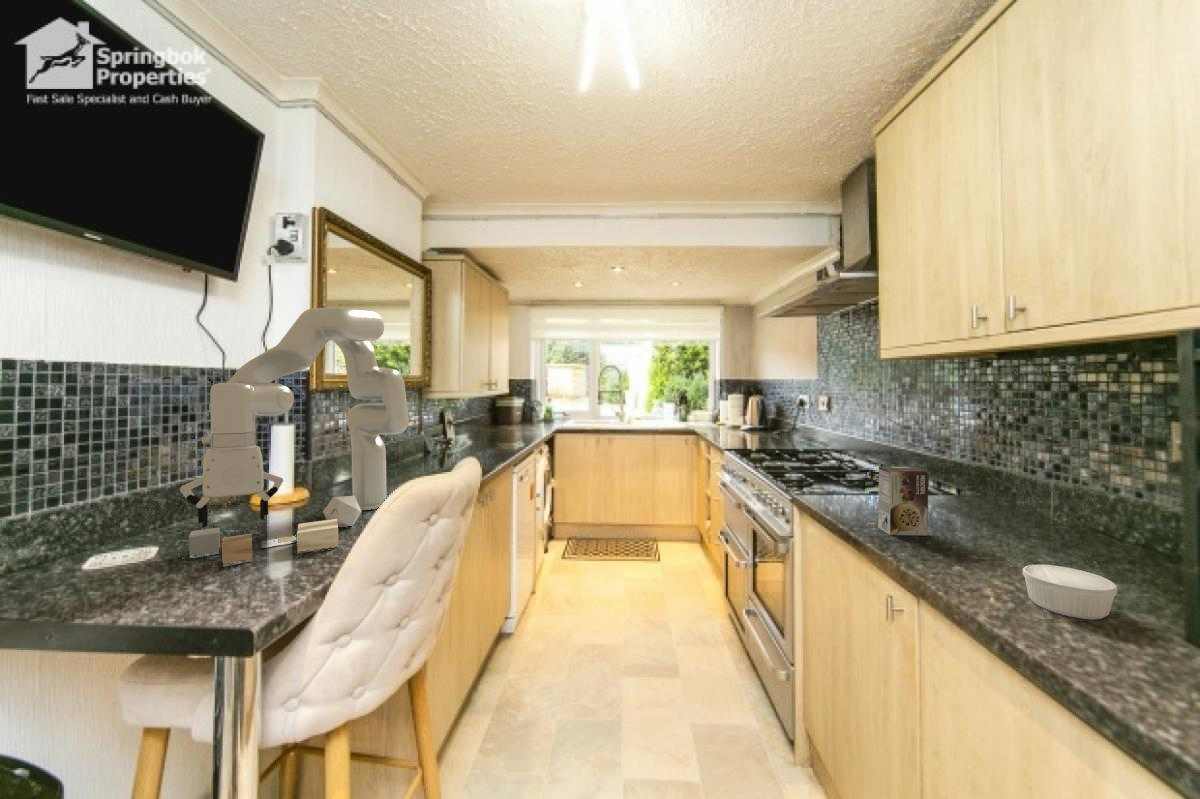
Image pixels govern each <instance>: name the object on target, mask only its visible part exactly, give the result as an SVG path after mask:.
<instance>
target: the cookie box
mask: <svg viewBox="0 0 1200 799" xmlns="http://www.w3.org/2000/svg"><path fill="white" fill-rule="evenodd" d="M877 521H878V523H877V526H878V529H880V530H881V531H883V532H884V533H886V534H887V535H889V536H929V471H928V470H925V469H924V468H922V467H921V468H920V467H917V466H878V520H877Z"/></svg>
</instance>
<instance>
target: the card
mask: <svg viewBox="0 0 1200 799" xmlns="http://www.w3.org/2000/svg"><path fill="white" fill-rule="evenodd" d="M294 535H295V536H296V535H297V534H294ZM291 536H292V537H287V536H285V537H286V538H283V537H284V536H282V538H281V537H279V538H280V539H278V543H281V542H288V541H294V540H296V537H295V536H293V535H291ZM273 541H274V540H273ZM274 542H275V541H274Z"/></svg>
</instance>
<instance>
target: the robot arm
mask: <svg viewBox="0 0 1200 799" xmlns="http://www.w3.org/2000/svg"><path fill="white" fill-rule="evenodd" d="M384 331H385V324H384V320H383V318H382V317H381V315H379V313H377V312H375V311H373V310H368V309H367V310H366V309H359V308H358V309H356V308H349V307H312V308H309V309H305V310H304V311H303V312H302V313H301V314H299V316H298V317H297V319H296V320H295V322H294V323H293V324H292V326H291V327H290V328H289V329H288V331H287V332H286V333H285V334H284V336H283V337H282V338H281V340H280V341H279V342H278V344H276V345H275V346H273V347H272V348H269V349H267V350H266V351H264V352H262V353H260V354H259V355H257V356H255V357H254V358H252V359H251V360H249V361H247V362H246V363H244V364H243V365H242V366H241V367H239V369H238V370H237V371H235V373H234V374H233V375H232V377H231V378H230V379H229V380H228V382H218V383H215V384H213V385H212V386H211V388H210V393H209V394H210V395H209V396H210V434H209V435H207V436H202V437H201V444H202V445H203V444H207V445H208V446H210V448H207V449H206V450H205V454H204V457H203V458H204V460H203V467H202V476H201V477H199V478H196V479H194V480H192V481H191V482H188V483H186V484H183V485H182V486H181V487H180V488H179V491H180V492H181V494H182V495H183V497H185V500H186V501H188V503H190V504H192V505H194V506H195V507H196V508H197V510H198V511H197V515H198V516H197V523H198V524H202V528H206V527H208V525H209V506H208V505H207V503H208V502H209V501H210V500H211V499H219V498H229V497H239V496H240V497H241V496H250V495H257V496H258V497H260V499H259V513H260V514H259V516H260V517H259V519H260V520H262V521H264V520H265V516H266V515H269V500H270V499H271V498H272V497H273V496H274V495H275V494H276V493H278V491H279V489H280V487H281V486H282V484H283V482H284V479H283V478H282V476H278V475H274V474H272V473H269V472H266V471H264V462H263V456H262V451H261V447H260V446H258V445H256V444H257V443H256V438H257V436H256V416H259V417H262V416H263V417H268V416H269V417H276V416H280V415H284V414H286V413H287V412H289V411H290V410H291V408H293V405H294V402H295V396H294V394H293V393H294V392H293V391H292V390H291V389H290V388H289V387H288V386H286V385H284V384H282V383H278V382H277V383H276V382H275V381H276V380H278V379H279V378H282V377H285V376H288V375H289V376H290V375H291V374H296V373H299V372H300V371H303V370H306V369H308V368H310V367H311V366H312V365H313V364H314V363H315V361H316V359H317V358H318V356H319V355H320V353H321V352H322V351H323V348H324V347H325V346H326V344H327V343H328V342H330V341H332V342H333V343H335V344H336V346H338V348H339V349H340V351H341V352H342V355H343V357H344V363H345V364H344V365H345V371H346V380H347V386H348V391H349V394H350V395H351V397H352V398H354V399H356V400H362V401H363V400H364V401H365V400H366V401H368V400H369V401H370V400H371V401H375V400H376V401H383V403H378V402H377V403H373V402H372V403H370V402H369V403H360V404H356V405H354V406H352V407H351V408H350V409H349V410H348V412H347V416H346V423H347V427H348V432H349V436H350V443H351V444H350V445H351V482H352V483H351V485H352V496H355V498H356V501H357V503H358V505H359V507H360V509H361V511H369V510H370V511H371V509H372V510H377V508H378V507H379V505H380V504H381V503H382V502H383V500H384V499H385V498H386V497H387V495H388V494H387V492H388V491H387V449H386V445H385V443H384V440H383V439H382V438H381V436H380V435H385V436H388V435H389V436H394V435H401V434H403V433H404V432H405V431H406V429H407V427H408V425H409V413H408V412H409V411H408V404H407V403H408V402H407V393H406V385H405V380H404V377H403V376H402V374H401V373H400V372H399V371H398V370H396V369H394V368H389V367H387V368H386V367H385V368H384V367H381V368H380V367H379V366H378V363H377V362H378V360H377V354H376V351H375V349H374V347H373V345H372V344H371V342H376V341H377V340H380V338H382V336H383V334H384ZM264 480H268V481H270V482H273V485H272V486H271V487H270V488H269V490H267V491H266V490H264V486H265V484H264V483H265V481H264ZM201 485H202V495H203V496H202V497H198V496H197V495H195V494H194V493H193V492H192V489H195V488H197V487H199V486H201ZM387 498H388V497H387ZM378 509H379V508H378Z"/></svg>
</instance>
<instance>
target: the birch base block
mask: <svg viewBox="0 0 1200 799" xmlns="http://www.w3.org/2000/svg"><path fill="white" fill-rule="evenodd" d="M296 535H297V543H296V544H297V546H296V547H297V553H298V552H299V551H306V550H314V549H322V548H329V547H340V546H339V528H338V522H337V519H332V520H326V519H325V520H324V519H323V520H318V521H317V520H316V521H311V522H309V521H308V522H303V523H298V524H297V532H296Z"/></svg>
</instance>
